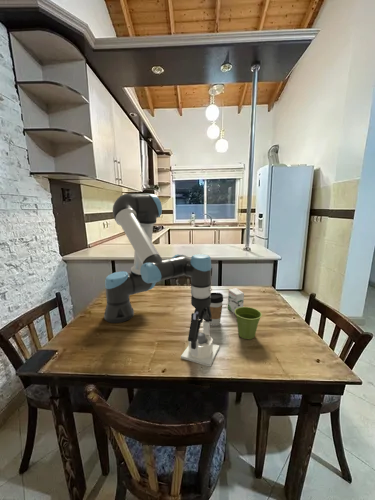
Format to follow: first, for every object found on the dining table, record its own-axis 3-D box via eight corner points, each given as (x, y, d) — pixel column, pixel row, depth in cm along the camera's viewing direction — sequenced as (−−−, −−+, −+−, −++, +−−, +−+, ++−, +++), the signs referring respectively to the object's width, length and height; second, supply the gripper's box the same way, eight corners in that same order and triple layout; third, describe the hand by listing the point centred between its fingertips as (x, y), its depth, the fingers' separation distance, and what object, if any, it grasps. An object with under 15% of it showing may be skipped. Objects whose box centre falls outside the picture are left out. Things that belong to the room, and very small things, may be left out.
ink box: (227, 308, 132) (227, 288, 129) (234, 306, 134) (235, 287, 131) (235, 314, 124) (236, 294, 122) (243, 313, 126) (244, 292, 124)
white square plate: (181, 358, 90) (180, 339, 89) (192, 341, 101) (192, 324, 99) (210, 366, 86) (210, 347, 84) (219, 348, 96) (219, 330, 95)
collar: (186, 354, 91) (185, 343, 90) (194, 342, 99) (194, 331, 98) (207, 360, 87) (207, 348, 86) (214, 347, 95) (214, 336, 94)
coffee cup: (222, 327, 112) (222, 298, 108) (204, 326, 113) (205, 297, 110) (223, 319, 120) (223, 292, 116) (206, 317, 121) (207, 290, 118)
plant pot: (256, 346, 97) (257, 321, 95) (229, 337, 103) (230, 314, 101) (263, 332, 107) (264, 310, 105) (238, 325, 113) (239, 304, 111)
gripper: (198, 310, 75) (198, 367, 80) (219, 285, 98) (218, 330, 102) (177, 306, 78) (178, 361, 83) (202, 283, 101) (202, 327, 105)
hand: (200, 344), depth 92 cm, fingers open, 13 cm apart
